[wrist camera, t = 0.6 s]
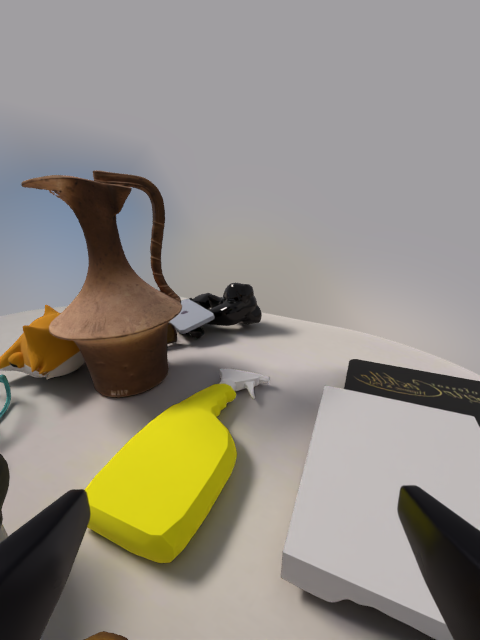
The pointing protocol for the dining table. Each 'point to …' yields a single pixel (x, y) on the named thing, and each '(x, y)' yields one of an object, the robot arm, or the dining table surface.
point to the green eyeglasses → (4, 380)
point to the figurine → (171, 333)
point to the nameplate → (415, 387)
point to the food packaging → (377, 501)
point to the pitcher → (115, 288)
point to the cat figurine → (229, 307)
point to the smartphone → (191, 316)
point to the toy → (42, 351)
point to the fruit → (106, 636)
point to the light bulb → (3, 492)
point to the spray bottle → (169, 473)
